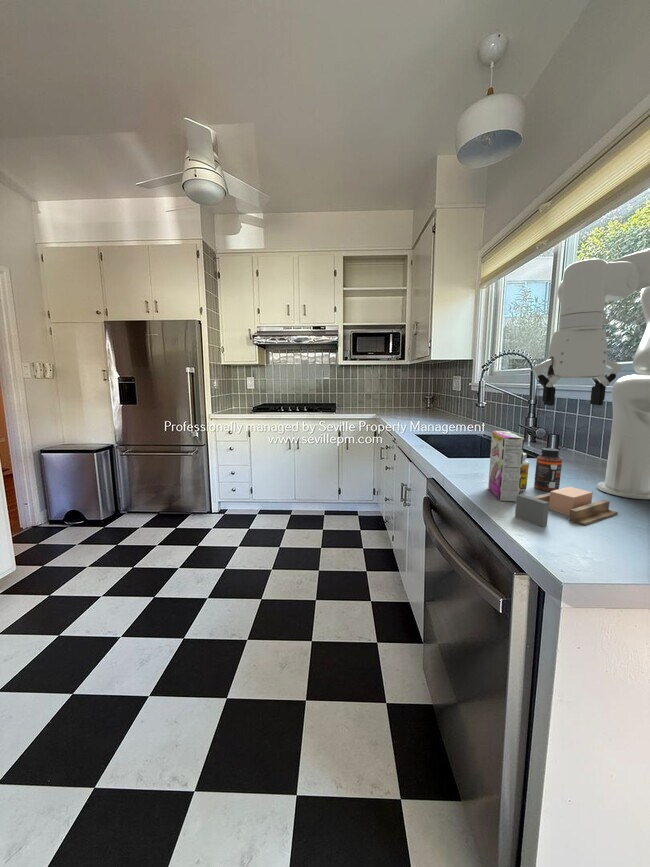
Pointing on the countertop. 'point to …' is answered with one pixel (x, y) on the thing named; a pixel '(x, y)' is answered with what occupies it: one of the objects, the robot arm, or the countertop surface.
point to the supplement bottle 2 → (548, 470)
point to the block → (568, 499)
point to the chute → (586, 511)
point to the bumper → (532, 510)
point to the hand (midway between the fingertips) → (572, 404)
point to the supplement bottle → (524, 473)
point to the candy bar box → (505, 465)
